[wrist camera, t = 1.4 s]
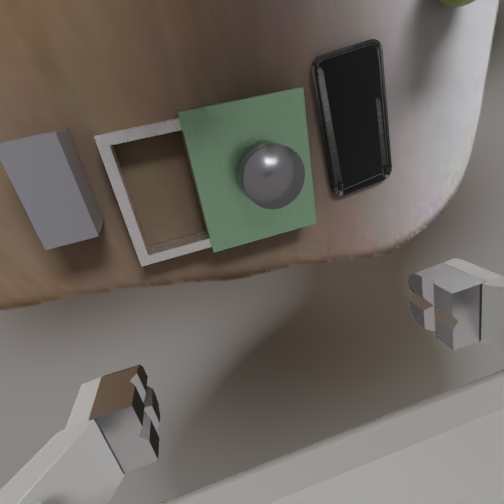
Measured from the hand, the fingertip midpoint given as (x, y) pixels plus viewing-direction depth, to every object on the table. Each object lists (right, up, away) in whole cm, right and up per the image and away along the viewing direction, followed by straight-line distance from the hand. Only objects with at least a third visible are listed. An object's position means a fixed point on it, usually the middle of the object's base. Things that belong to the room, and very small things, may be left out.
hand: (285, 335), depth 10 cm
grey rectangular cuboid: (-19, +9, +22) cm, 31 cm away
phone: (+10, +17, +29) cm, 35 cm away
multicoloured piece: (-5, +10, +26) cm, 28 cm away
